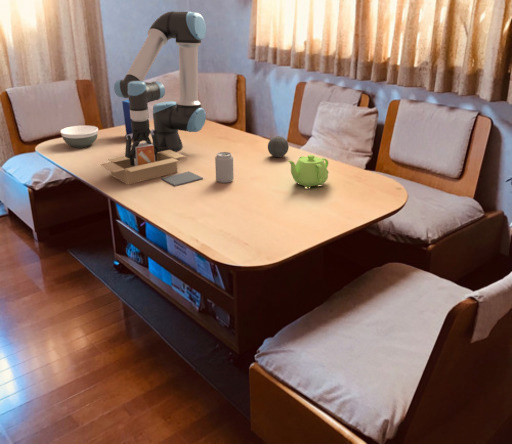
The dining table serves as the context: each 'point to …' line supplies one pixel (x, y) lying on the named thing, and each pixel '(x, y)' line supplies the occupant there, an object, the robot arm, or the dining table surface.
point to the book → (127, 116)
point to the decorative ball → (278, 146)
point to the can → (224, 167)
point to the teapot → (310, 171)
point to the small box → (144, 153)
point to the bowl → (79, 135)
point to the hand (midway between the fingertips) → (144, 170)
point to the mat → (181, 178)
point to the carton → (143, 167)
